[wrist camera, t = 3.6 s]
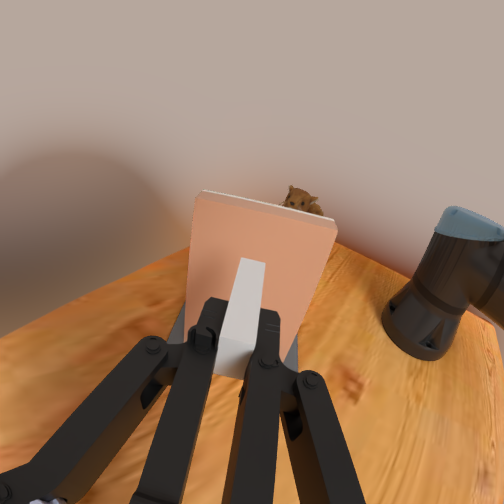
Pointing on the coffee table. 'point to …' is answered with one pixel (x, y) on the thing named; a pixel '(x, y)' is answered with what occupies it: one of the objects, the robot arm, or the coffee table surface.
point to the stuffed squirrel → (302, 201)
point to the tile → (256, 256)
